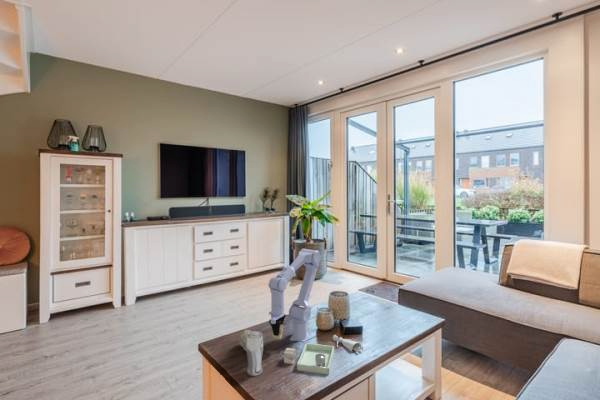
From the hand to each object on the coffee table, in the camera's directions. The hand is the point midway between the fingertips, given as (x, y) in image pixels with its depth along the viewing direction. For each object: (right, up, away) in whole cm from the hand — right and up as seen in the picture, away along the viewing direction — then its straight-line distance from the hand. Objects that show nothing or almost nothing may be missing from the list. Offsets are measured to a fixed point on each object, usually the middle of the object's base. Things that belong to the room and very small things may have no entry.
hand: (277, 332), depth 142 cm
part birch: (+6, -9, -9) cm, 14 cm away
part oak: (0, -2, 0) cm, 2 cm away
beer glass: (-8, -9, -16) cm, 20 cm away
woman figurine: (+32, -9, +5) cm, 34 cm away
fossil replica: (-13, -8, +2) cm, 16 cm away
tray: (+17, -9, -9) cm, 21 cm away
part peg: (+19, -8, -15) cm, 25 cm away
